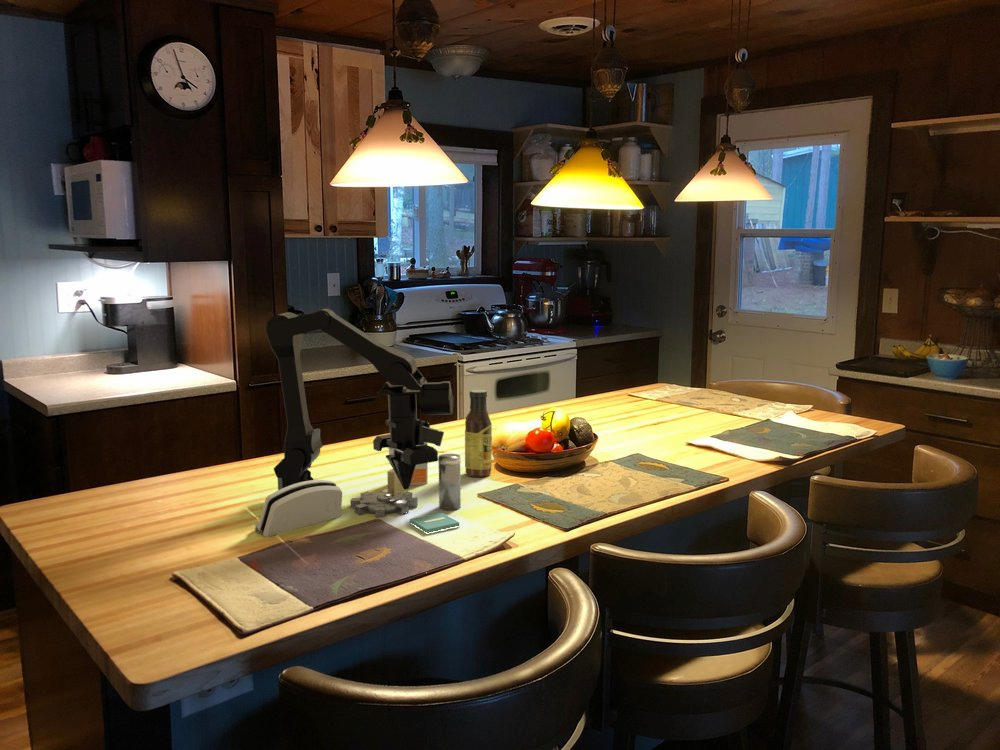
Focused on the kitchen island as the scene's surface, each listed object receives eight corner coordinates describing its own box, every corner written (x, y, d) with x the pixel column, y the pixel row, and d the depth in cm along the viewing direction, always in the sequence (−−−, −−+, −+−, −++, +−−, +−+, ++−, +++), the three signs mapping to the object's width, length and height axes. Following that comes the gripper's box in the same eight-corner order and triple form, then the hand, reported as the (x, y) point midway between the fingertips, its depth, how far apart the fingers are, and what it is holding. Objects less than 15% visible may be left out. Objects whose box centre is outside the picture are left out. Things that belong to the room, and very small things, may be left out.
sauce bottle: (488, 478, 194) (488, 394, 191) (462, 477, 195) (461, 393, 192) (494, 471, 200) (494, 389, 197) (468, 469, 202) (468, 388, 198)
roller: (445, 513, 170) (445, 460, 168) (435, 507, 174) (434, 455, 172) (464, 509, 173) (464, 457, 171) (453, 503, 176) (453, 452, 174)
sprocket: (397, 520, 165) (396, 488, 164) (339, 511, 170) (338, 480, 169) (432, 497, 180) (432, 467, 179) (378, 490, 185) (377, 461, 183)
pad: (427, 535, 158) (426, 528, 157) (409, 524, 163) (409, 518, 163) (459, 528, 161) (459, 521, 161) (441, 518, 167) (441, 511, 167)
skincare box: (401, 486, 188) (400, 434, 186) (398, 481, 192) (397, 430, 190) (428, 484, 190) (427, 432, 188) (425, 479, 194) (424, 428, 192)
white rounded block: (328, 511, 172) (335, 469, 168) (340, 523, 169) (348, 482, 165) (252, 531, 160) (258, 487, 156) (264, 545, 157) (271, 500, 153)
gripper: (459, 417, 170) (462, 492, 172) (417, 404, 185) (420, 473, 187) (410, 424, 164) (413, 502, 166) (370, 410, 179) (374, 482, 181)
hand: (406, 488), depth 175 cm, fingers closed
